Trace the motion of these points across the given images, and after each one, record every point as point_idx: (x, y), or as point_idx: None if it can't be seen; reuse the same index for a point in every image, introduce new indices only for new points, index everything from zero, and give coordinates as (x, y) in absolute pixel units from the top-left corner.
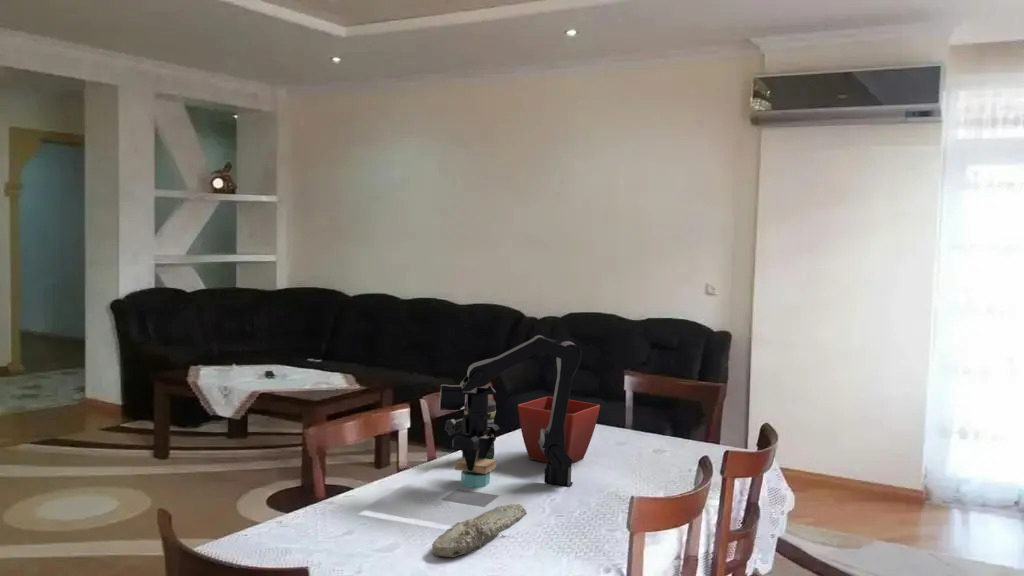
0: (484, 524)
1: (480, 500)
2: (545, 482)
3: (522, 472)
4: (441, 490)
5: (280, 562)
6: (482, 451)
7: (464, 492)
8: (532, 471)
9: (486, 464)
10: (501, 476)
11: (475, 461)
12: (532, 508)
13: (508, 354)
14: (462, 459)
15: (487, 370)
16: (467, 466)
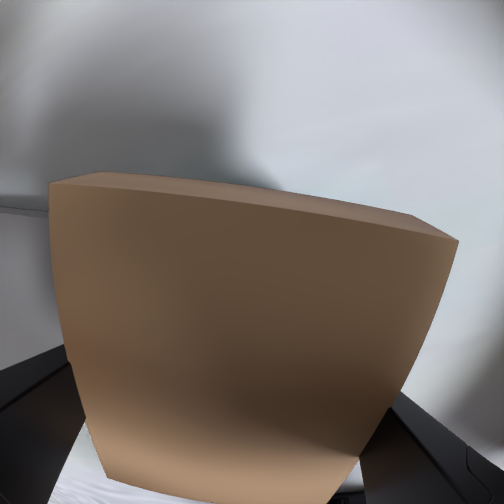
0: None
1: (14, 363)
2: (344, 500)
3: (497, 397)
4: (88, 105)
5: None
6: (400, 496)
7: (42, 280)
8: (500, 415)
9: (160, 485)
10: (460, 355)
11: (58, 451)
12: (100, 475)
13: None
14: (238, 242)
15: None
16: (57, 348)
